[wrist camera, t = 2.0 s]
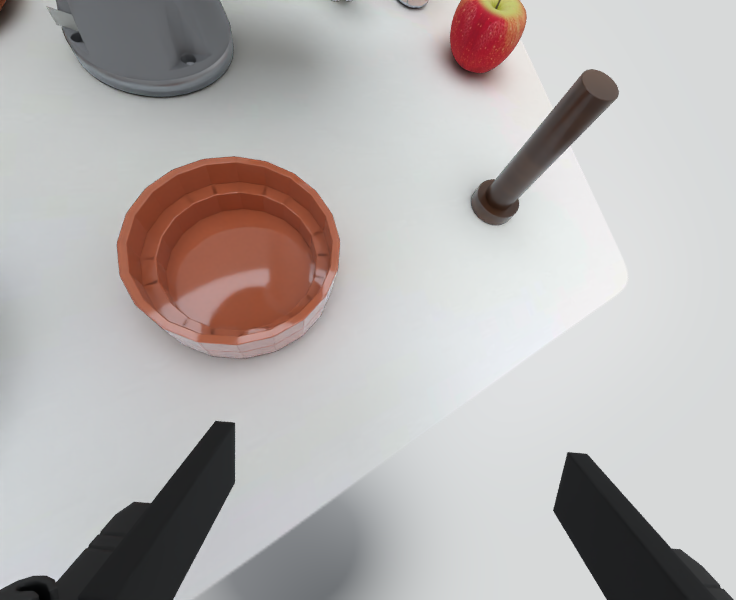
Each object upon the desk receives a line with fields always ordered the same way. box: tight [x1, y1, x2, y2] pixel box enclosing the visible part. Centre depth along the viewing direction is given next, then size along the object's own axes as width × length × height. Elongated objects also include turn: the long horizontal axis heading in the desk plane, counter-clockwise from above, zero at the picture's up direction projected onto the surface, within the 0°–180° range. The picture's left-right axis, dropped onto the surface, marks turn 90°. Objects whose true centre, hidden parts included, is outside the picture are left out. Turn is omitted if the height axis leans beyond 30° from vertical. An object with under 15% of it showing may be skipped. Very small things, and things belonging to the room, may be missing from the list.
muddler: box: [471, 69, 619, 225], centre depth 32 cm, size 5×5×15 cm
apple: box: [450, 0, 527, 73], centre depth 42 cm, size 8×8×10 cm
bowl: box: [117, 156, 340, 358], centre depth 28 cm, size 15×15×6 cm
